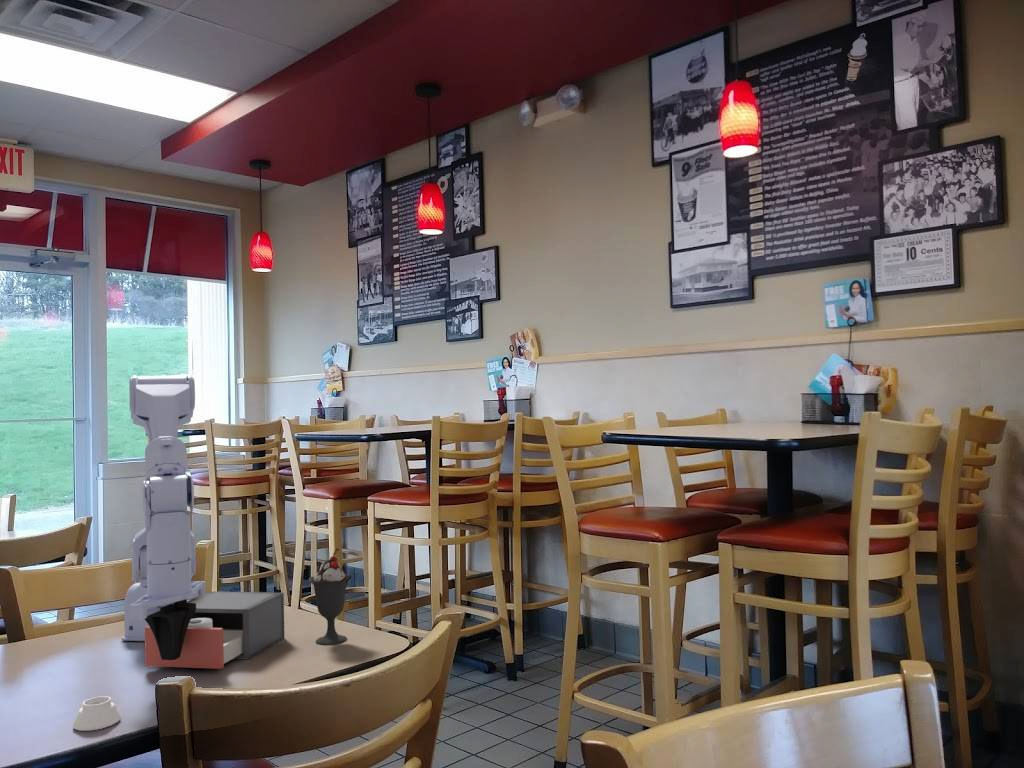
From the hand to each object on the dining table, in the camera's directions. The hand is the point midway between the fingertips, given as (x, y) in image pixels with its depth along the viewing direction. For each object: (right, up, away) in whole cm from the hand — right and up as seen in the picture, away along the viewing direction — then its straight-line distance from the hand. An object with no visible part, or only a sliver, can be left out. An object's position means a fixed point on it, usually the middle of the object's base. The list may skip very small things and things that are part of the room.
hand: (170, 658), depth 111 cm
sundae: (+19, -3, +17) cm, 25 cm away
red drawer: (+2, -2, +8) cm, 8 cm away
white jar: (-2, -3, -16) cm, 16 cm away
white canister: (+1, -2, +6) cm, 6 cm away
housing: (+3, -3, +15) cm, 15 cm away
